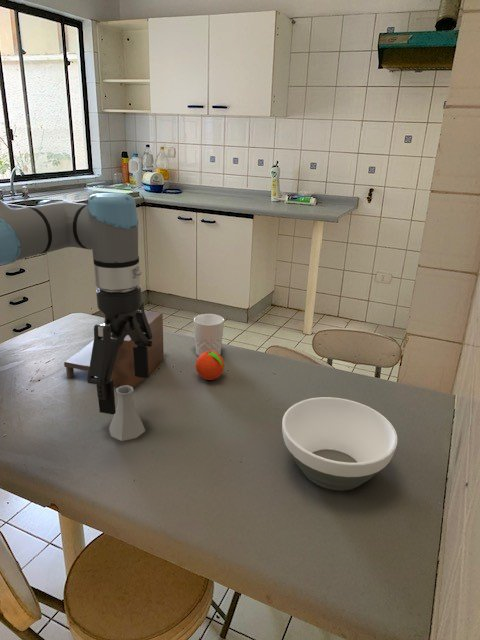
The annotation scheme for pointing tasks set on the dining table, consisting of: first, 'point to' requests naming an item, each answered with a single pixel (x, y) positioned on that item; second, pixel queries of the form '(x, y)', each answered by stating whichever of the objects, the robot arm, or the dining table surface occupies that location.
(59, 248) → the robot arm
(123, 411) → the flask
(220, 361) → the clementine
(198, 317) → the white cup
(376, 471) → the bowl
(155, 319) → the shelf
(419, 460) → the dining table surface
